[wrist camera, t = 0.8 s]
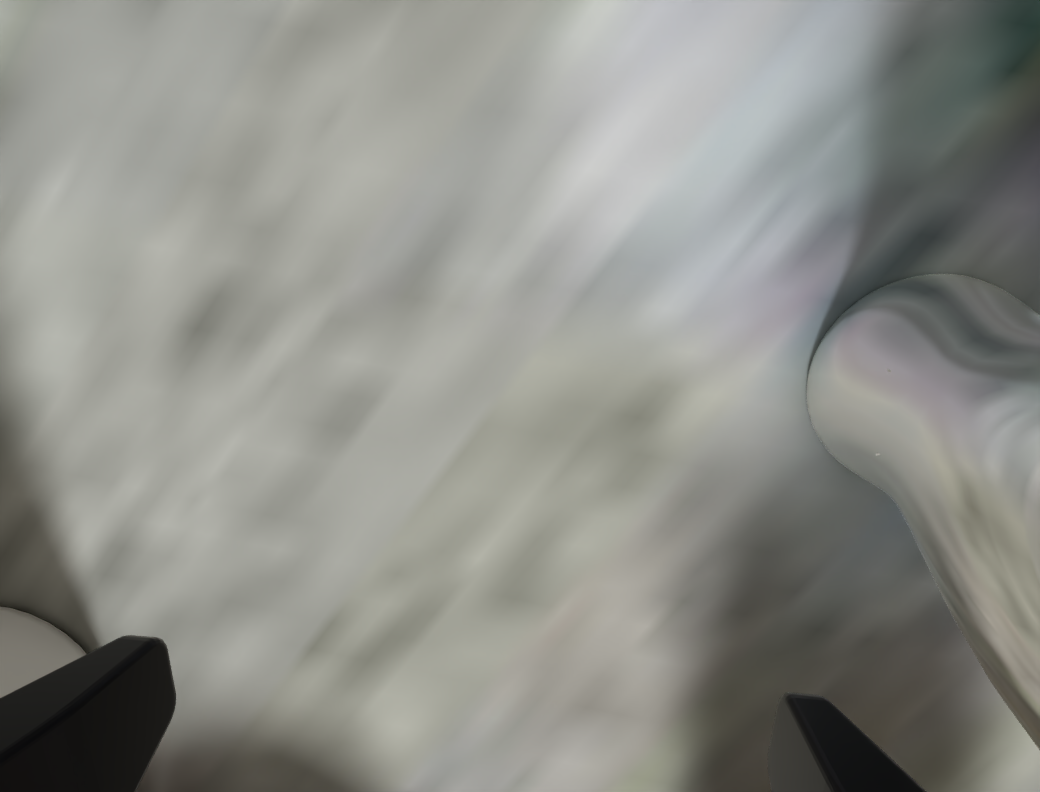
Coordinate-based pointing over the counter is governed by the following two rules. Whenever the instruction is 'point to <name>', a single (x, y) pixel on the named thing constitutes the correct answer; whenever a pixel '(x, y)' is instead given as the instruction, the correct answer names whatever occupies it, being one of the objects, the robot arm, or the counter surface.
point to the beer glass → (950, 451)
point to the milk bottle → (31, 649)
